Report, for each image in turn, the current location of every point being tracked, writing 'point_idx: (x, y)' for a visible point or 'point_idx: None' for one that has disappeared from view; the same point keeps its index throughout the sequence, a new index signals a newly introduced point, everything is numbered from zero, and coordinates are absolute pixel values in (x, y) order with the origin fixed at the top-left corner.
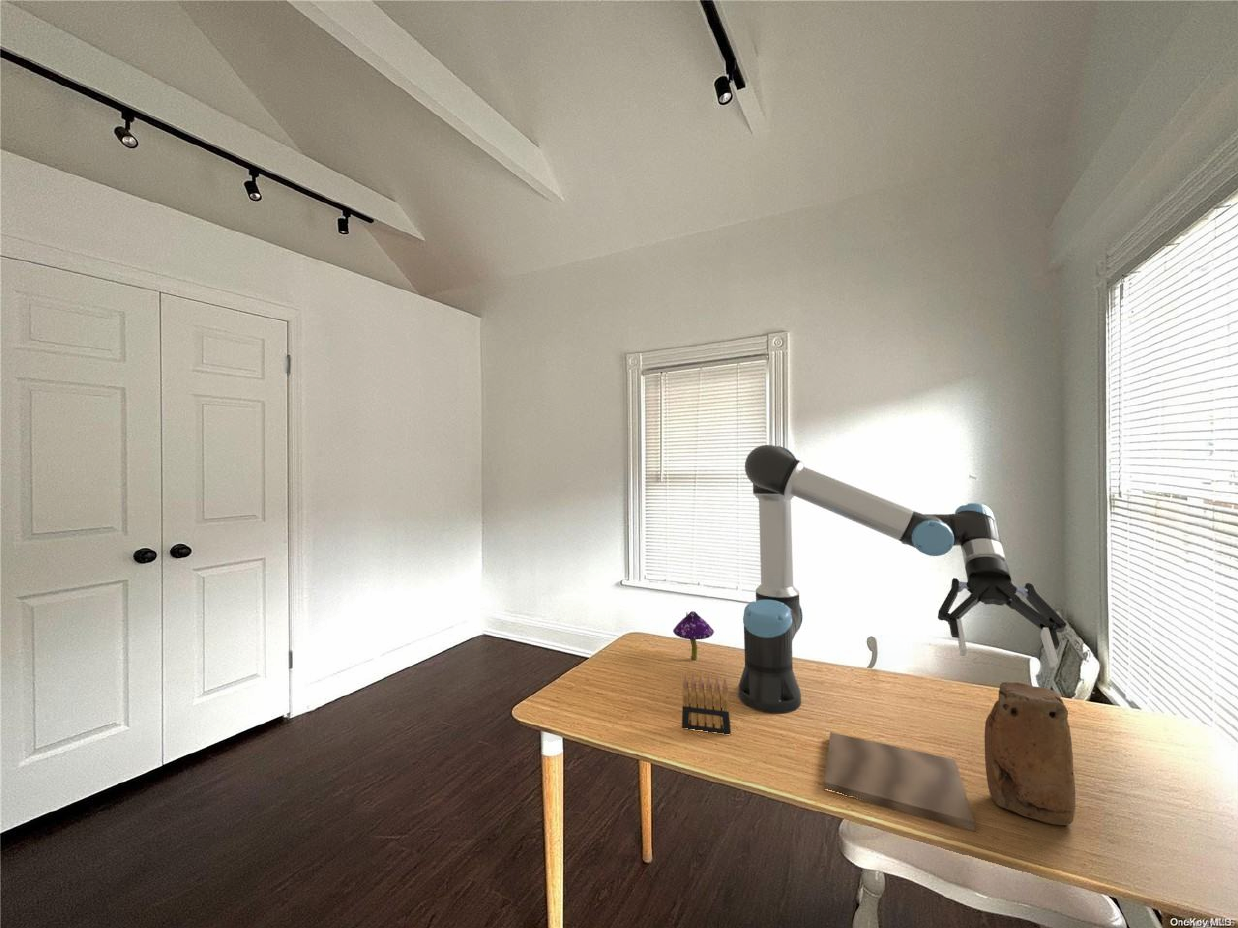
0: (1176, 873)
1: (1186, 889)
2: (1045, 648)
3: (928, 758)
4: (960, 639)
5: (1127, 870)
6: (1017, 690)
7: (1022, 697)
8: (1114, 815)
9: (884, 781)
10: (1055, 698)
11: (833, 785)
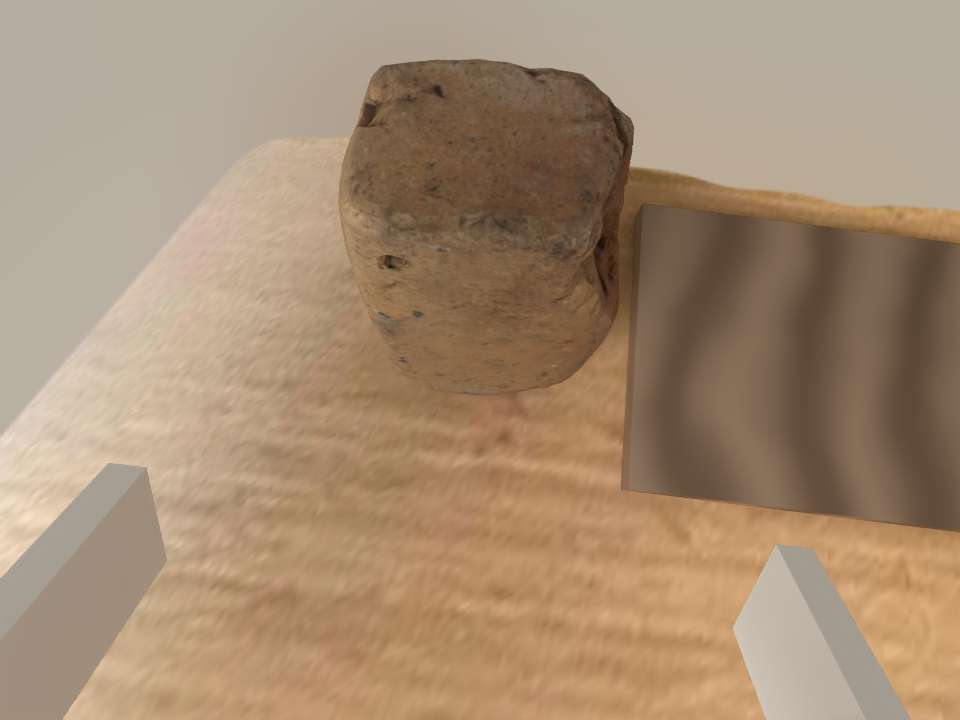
0: (276, 211)
1: (290, 172)
2: (61, 690)
3: (708, 464)
4: (862, 635)
5: None
6: (549, 131)
7: (550, 74)
8: (278, 382)
9: (835, 297)
10: (384, 121)
11: (954, 244)
